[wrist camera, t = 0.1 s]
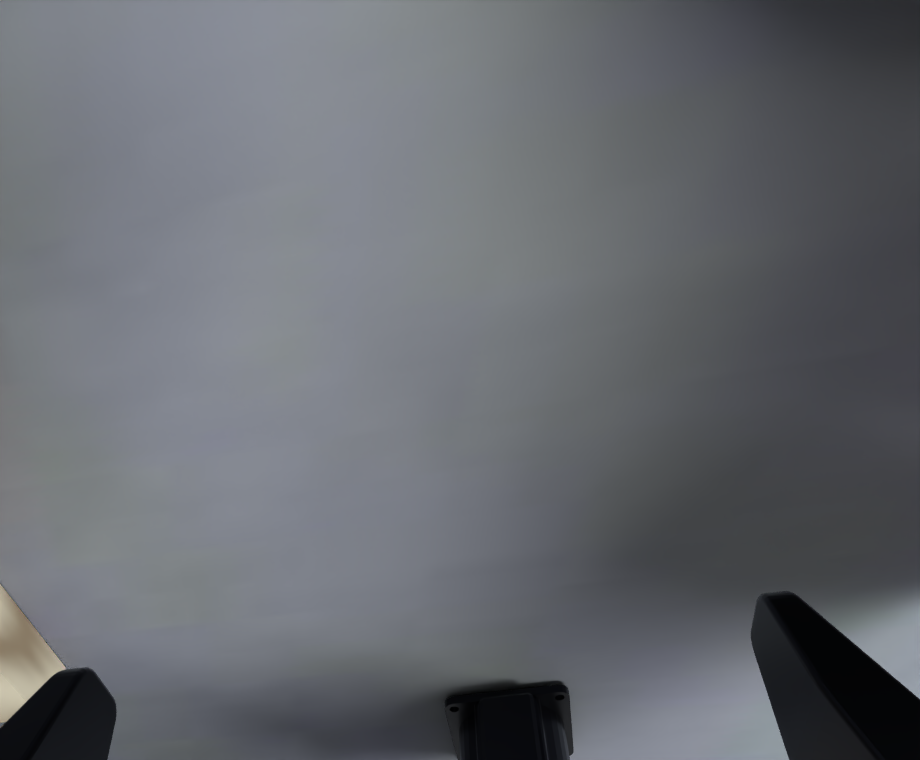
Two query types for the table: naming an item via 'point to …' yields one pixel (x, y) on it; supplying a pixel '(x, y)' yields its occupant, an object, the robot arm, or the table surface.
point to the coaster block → (21, 658)
